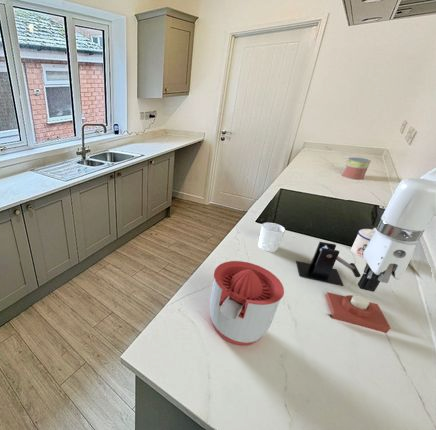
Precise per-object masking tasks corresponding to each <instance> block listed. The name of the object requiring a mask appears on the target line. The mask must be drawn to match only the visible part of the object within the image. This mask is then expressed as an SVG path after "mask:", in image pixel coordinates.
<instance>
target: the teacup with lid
mask: <svg viewBox="0 0 436 430" xmlns="http://www.w3.org/2000/svg"><path fill="white" fill-rule="evenodd" d="M375 229H376V227H373V228H361V229H360V230H358V231H357V236H356V238H355V239H354V242H353V244H352V246H351V248H350V252H351V253H353V254H354V255H356V256H358V257H360V258H362V259H364V256H363V253H364V250H365V248H366V246H367V244H368V243H369V241H370V239H371V238H372V236H373V235H374V233H375V232H376V231H375Z"/></svg>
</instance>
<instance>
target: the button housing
mask: <svg viewBox="0 0 436 430" xmlns="http://www.w3.org/2000/svg"><path fill="white" fill-rule="evenodd" d="M353 296H354V295H351V294H350V295H349V294H348V295H342V294H338V293H337V294H336V293H333V292H328V291H327V292H326V294H325V298H326V300H327V304H328V306H329V309H330V312H331V313H330V318H331V319H332V320H337V321H340V322H344V323H347V324H351V325H354V326H358V327H363V328H367V329H370V330H372V331H373V330H374V331H378V332H381V333H384V334H387V333H388V332H389V330H390V329H391V326H390V324H389V322H388V320H387V318H386V317H385V315H384V313H383V311H382V310H381V308H380V306H379V304H378V303H375V302H371V301H368V302H369V305H368V307H367V309H360V308H357V307H355V306H353V305H352V304H351V303H350V301H351V299H352V297H353Z"/></svg>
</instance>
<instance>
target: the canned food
mask: <svg viewBox="0 0 436 430" xmlns="http://www.w3.org/2000/svg"><path fill="white" fill-rule="evenodd" d="M371 162H372V161H371V160H370V159H367V158H363V157H348V160H347V162H346V165H345V167H344V170H343V173H342V177H344V178H347V179H351V180H363V179H364V178H365V175H366V173H367V171H368V168H369V166H370V163H371Z"/></svg>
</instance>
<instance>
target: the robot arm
mask: <svg viewBox="0 0 436 430" xmlns="http://www.w3.org/2000/svg"><path fill="white" fill-rule="evenodd" d="M434 217H436V167H434V168H433V169H431V170H430V171H428V172H426V173H424V175H422V176H421V177H417V178H415V177H413V178H412V177H410V178H405V179H402V180H401V181H399V183H398V184H397V186H396V187H395V190H394V192H393V194H392V196H391V198H390V199H389V202H388V204H387V206H386V207H385V209H384V212H383V213H382V215H381V216H380V219H379V221H378V223H377V225H376V227H375V228H376V229H375V231H376V232H375V233H374V235H373V236H372V238H371V239H370V241H369V243H368V244H367V246H366V248H365V250H364V253H363V256H364V258H363V259H364V260H365V262H366V264H365V267H364V269H363V273H362V275H361V276H360V278H359V280H358V282H357V286H358V288H359V290H364V291H368V292H372V293H373V292H376V291H377V288H378V286H379V285H380V283H383V284H388V283H389V280H390V277H391V276H392V277H393V278H394V279H395V280H400V279H401V278H402V276H403V275H404V273H405V272H406V270H407V268H408V266H409V264H410V262H411V260H412V257H413V255H414V254H415V253H414V252H415V249H416V245H417V243H418V242H419V241H420V239H421V237H422V236H423V234H424V232H425V231H426V230H427V227H428V225H430V222H431V221H432V220H433V218H434Z"/></svg>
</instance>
